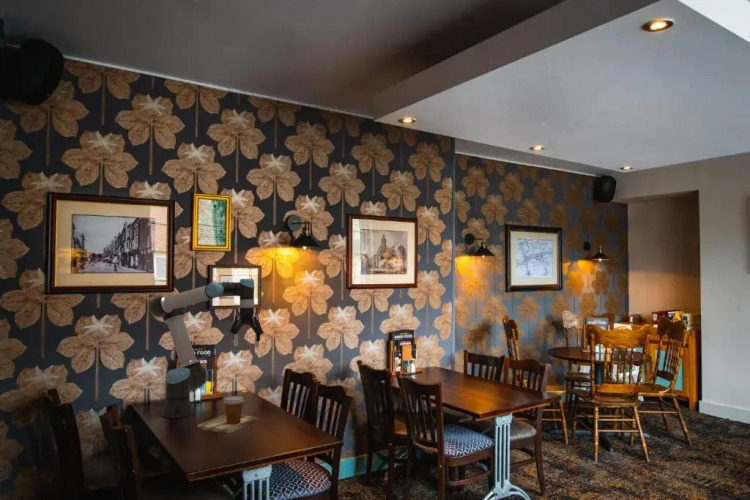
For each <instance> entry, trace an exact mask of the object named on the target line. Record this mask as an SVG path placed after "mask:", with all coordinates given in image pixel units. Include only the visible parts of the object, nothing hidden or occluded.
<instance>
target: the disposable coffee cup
mask: <svg viewBox="0 0 750 500" xmlns="http://www.w3.org/2000/svg"><path fill="white" fill-rule="evenodd" d="M244 400H245V399H244V397H243V396H241V395H231V396H226V397H224V399H223V402H224V409H225V414H226V419H227V424H230V425H234V424H239V423H240V420H241V415H242V412H243V405H244Z"/></svg>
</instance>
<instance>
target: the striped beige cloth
mask: <svg viewBox="0 0 750 500" xmlns="http://www.w3.org/2000/svg"><path fill="white" fill-rule="evenodd" d="M257 421H258V417H256V416H250V415H242V414H241V420H240V423H239V424H234V425H230V424H227V419H226V413H225V414H223V415H220V416H218V417H214V418H213V419H210V420H207V421H205V422H202V423H200V424H197V430H202V431H207V432H215V433H221V434H227V435H228V434H230V433H232V432H235V431H239V430H240V429H242V428H244V427H247V426H249V425H251V424H254V423H256V422H257Z"/></svg>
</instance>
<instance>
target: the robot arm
mask: <svg viewBox="0 0 750 500" xmlns="http://www.w3.org/2000/svg"><path fill="white" fill-rule="evenodd" d="M220 297H221V298H222V297H239V315H235V316H234V321H233V323H232V325H231V327H230V330H229V333H231V334H232V341H233V347H238V346H239V332H240V330H241V328H242V327H243V326H244V325H246V326H247V325H249V326H250V327H251V329H252V330H253V332H254V333H255V335H254V348H255V349H257V348H260V341H261V335H263V334H264V331H263V328H262V325H261V322H260V319H259V318H260V317H259V316H254V314H255V308H254V307H255V279H253V278H240V279H239V282H238V281H237V282H235V281H234V282H229V281H225V282H223V281H222V282H217V281H216V282H210V283H208V285H207V284H206V285H204V286H199V287H197V288H196V287H195V288H193V289H190V290H186V291H182V292H180V293H179V292H178V293H175V294H172V295H167V294H165V295H160V296H156V297H154V298H152V299H151V301H149V304H148V311H149V313H150V315H152V316H153V317H156V318H162V320H163V323H164V324H167V327H168V329H169V333H170V336H171V338H172V342H173V346H174V348H175V351H176V355H177V358H178V361H179V363H180V364H179V367H177V368H173V369H170V370H169V371H167V373H166V378H165V381H166V382H165V402H164V405H163V409H162V412H161V416H162V418H165V419H180V418H186V417H189V416H192V415H193V413H194V411H193V409H194V408H193V407H192V403H191V399H190V395H191V392H190V391H192V390H197V389H199V388H201V387H203V386H204V385H205V384H206V383H207V381H208V379H209V371H208V369H207V368H206V367H205V366H203V365H202V363H201V361H200V360H198V359H197V357H196V354H195V350H194V348H193V345H192V342H191V339H190V336H189V333H188V332H189V331H188V330H187V326H186V323H185V321H184V318H185V317H186V314H185V312H186V309H187V306H191V305H194V304H198V303H201V302H205V301H209V300H212V299H216V298H220Z"/></svg>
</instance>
